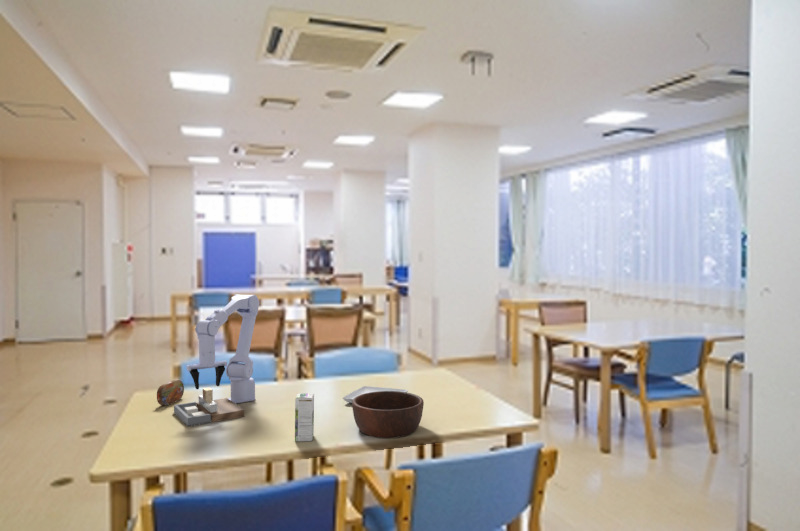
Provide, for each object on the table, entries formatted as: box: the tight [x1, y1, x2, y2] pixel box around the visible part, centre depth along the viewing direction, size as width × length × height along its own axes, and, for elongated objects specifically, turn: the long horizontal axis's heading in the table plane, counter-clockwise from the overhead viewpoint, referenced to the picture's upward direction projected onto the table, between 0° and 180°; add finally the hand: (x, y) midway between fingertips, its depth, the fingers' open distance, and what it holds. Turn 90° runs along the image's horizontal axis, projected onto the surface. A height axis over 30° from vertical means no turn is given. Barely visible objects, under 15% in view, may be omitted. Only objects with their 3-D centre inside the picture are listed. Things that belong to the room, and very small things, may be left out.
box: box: [173, 401, 212, 427], centre depth 199 cm, size 8×20×3 cm, turn 36°
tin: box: [156, 379, 185, 406], centre depth 219 cm, size 15×3×8 cm, turn 168°
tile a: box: [184, 406, 198, 415], centre depth 203 cm, size 4×4×2 cm
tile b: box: [191, 411, 205, 417], centre depth 196 cm, size 4×4×2 cm
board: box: [196, 397, 245, 423], centre depth 205 cm, size 12×20×2 cm, turn 36°
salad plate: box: [342, 385, 409, 404], centre depth 222 cm, size 21×21×3 cm
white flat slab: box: [198, 387, 217, 413], centre depth 202 cm, size 2×16×7 cm, turn 36°
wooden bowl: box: [351, 391, 425, 439], centre depth 187 cm, size 25×25×10 cm
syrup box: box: [294, 392, 315, 442], centre depth 177 cm, size 6×6×14 cm
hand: (207, 387), depth 203 cm, fingers open, 7 cm apart
